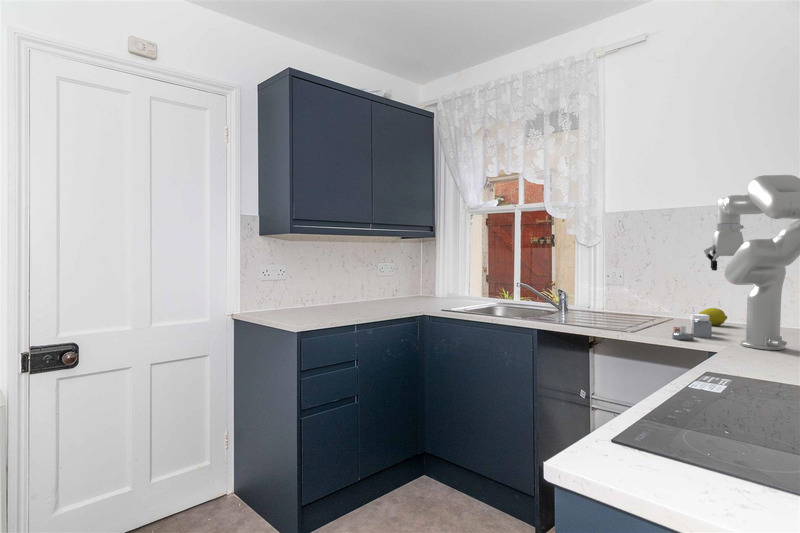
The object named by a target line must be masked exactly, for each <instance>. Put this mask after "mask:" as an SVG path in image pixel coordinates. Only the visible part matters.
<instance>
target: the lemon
mask: <svg viewBox="0 0 800 533" xmlns="http://www.w3.org/2000/svg"><path fill="white" fill-rule="evenodd" d="M698 314H706V315H709V321H710V322H711V323H712V326H714V327H715V326H716V327H717V326H721V325H723V324H724V323H725V322H726V320H727V319H728V316H727V315H726V313H725V311H723V310H722V309H720V308H716V307H711V308H705V309H704V310H701V311H699V312H698Z"/></svg>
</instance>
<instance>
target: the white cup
mask: <svg viewBox="0 0 800 533" xmlns="http://www.w3.org/2000/svg"><path fill="white" fill-rule="evenodd" d="M696 318H700V319H708V320H709V315H706V314H699V313H690V324H691V328H692V320H695V319H696Z"/></svg>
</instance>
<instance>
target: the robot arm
mask: <svg viewBox="0 0 800 533" xmlns="http://www.w3.org/2000/svg"><path fill="white" fill-rule="evenodd" d="M760 214H761V215H762V214H765V216H767V217H769V218H770V219H775V220H796V221H793V222H792V223H789V224H788V225H786V226H784V228H782V229H781V230H780V231H779V233H778V234H777V235H776V236H774V237H773V238H772V237H771V238H759V239H758V238H757V239H755V238H754V239H749V240H747V241H745V242H744V237H743V231H741V229H742V230H743V229H744V228H745V226H744V225H742V224H741V215H760ZM716 222H717V224H716V225H717V226H716V229H717V230H716V231H715V232H714V234H713V238H712V242H711V246H709V247H708V248H705V249H703V253H704V254H705V257H706V258H708V259H709V261H710V269H711V271H718V261H717V259H718V258H719V257H731V258H730V260H729V261H728V263H727V264H726V266H725V269H724V277H725V279H726V281H727V282H729V283H730V284H732V285H736V286H739V285H740V286H752V288H751V290H750V291H749V292H748V295H747V298H746V300H747V301H746V328H745V330H746V331H745V332H746V333H745V339H742V340H741V341H740V345H742V346H744V347H747V348H750V349H751V348H752V349H758V350H766V351H767V350H771V351H783V350H785V349H786V346H787V344H788V343H787V341H785V340H783V339H782V338H783V337H782V336H781V321H782V320H781V319H782V318H781V317H782V315H781V314H782V313H781V312H782V292H783V288H784V287H783V285H784V281H785V278H786V273H787V270H786V267H788V266H790V265H791V264H793V263H794V262H795V261H796V260H797V259H798V258H799V257H800V178H799V177H798V176H796V175H792V174H771V175H770V174H768V175H763V174H762V175H759V176H756V177H755V178H753V179H752V180H751V181H750V182H749V185H748V187H747V194H733V195H732V194H731V195H728V196H726V197H721V198H720V199H719V200H718V201H717V221H716Z"/></svg>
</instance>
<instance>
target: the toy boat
mask: <svg viewBox="0 0 800 533" xmlns="http://www.w3.org/2000/svg"><path fill="white" fill-rule="evenodd" d="M672 328H673V331H672V336H671V338H672V339H673V340H675V341H676V340H677V341H681V342H683V341H685V342H690V341H689V340H693V341H694V338H695V337H694V335H693V334H691V333H689V332H687V329H686V328H687V327H686V325H680V326H673V327H672Z"/></svg>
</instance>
